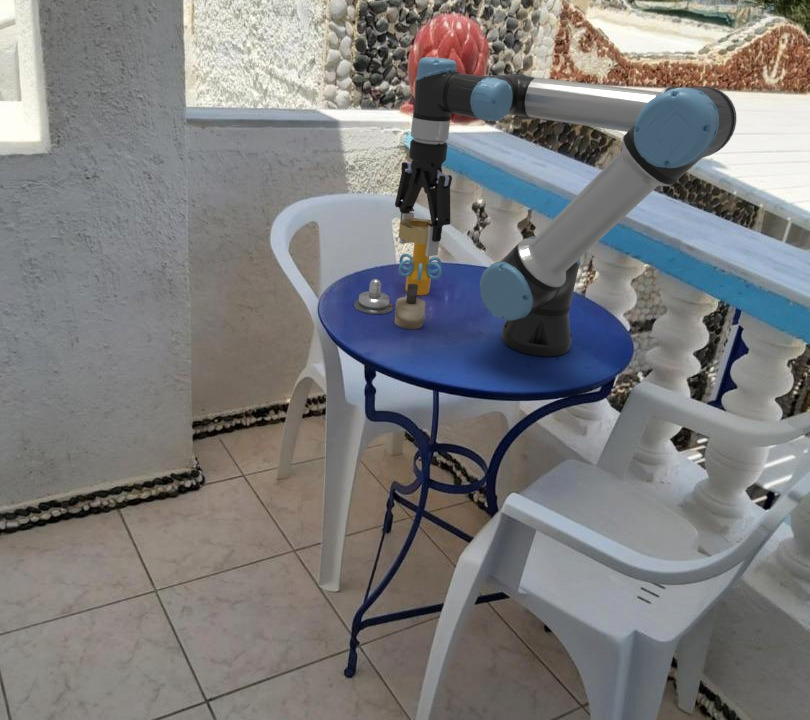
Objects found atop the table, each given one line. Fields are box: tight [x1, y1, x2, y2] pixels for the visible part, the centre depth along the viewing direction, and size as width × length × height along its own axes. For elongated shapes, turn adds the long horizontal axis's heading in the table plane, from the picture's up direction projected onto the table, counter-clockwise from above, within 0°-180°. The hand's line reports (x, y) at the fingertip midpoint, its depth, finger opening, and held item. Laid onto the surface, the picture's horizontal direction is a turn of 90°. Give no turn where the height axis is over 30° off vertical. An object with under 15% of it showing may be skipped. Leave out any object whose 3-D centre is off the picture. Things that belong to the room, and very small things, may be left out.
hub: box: [353, 278, 394, 316], centre depth 177 cm, size 9×9×7 cm
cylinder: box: [398, 243, 442, 296], centre depth 187 cm, size 12×10×15 cm
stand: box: [394, 284, 426, 330], centre depth 170 cm, size 6×6×9 cm
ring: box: [398, 217, 432, 244], centre depth 162 cm, size 8×8×3 cm
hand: (418, 248), depth 164 cm, fingers closed on ring, 8 cm apart
